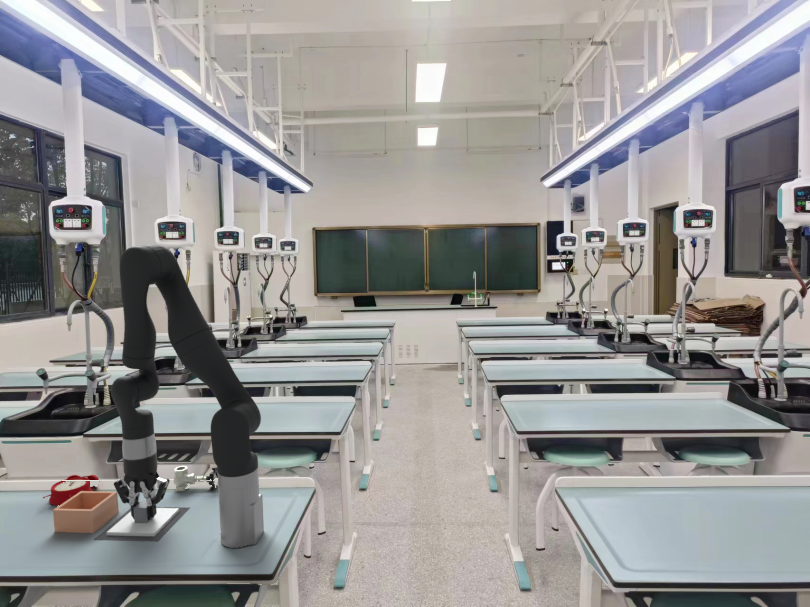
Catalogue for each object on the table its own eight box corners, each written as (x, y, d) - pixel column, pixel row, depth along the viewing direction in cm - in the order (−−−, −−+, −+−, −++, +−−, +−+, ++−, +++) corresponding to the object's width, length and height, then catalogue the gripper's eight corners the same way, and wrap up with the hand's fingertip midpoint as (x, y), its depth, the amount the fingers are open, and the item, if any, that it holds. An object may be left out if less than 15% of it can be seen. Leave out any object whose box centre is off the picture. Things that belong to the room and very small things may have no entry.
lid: (179, 511, 136) (178, 493, 135) (154, 536, 124) (153, 517, 123) (135, 510, 136) (134, 493, 136) (106, 535, 124) (105, 516, 124)
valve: (170, 495, 145) (213, 494, 146) (168, 473, 145) (211, 472, 145) (179, 485, 152) (220, 483, 152) (177, 463, 151) (219, 462, 152)
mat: (190, 508, 137) (190, 507, 137) (158, 542, 122) (158, 541, 122) (132, 507, 138) (132, 506, 138) (93, 541, 123) (93, 539, 123)
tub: (118, 513, 136) (117, 491, 135) (93, 534, 126) (91, 510, 125) (82, 512, 136) (80, 491, 136) (54, 533, 126) (52, 510, 126)
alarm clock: (35, 496, 138) (70, 462, 153) (41, 515, 140) (74, 479, 155) (74, 495, 138) (105, 461, 153) (79, 514, 140) (109, 479, 155)
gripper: (174, 447, 131) (178, 511, 133) (121, 446, 132) (126, 510, 134) (159, 458, 124) (163, 526, 126) (103, 458, 125) (108, 525, 127)
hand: (144, 517), depth 130 cm, fingers closed on lid, 3 cm apart
